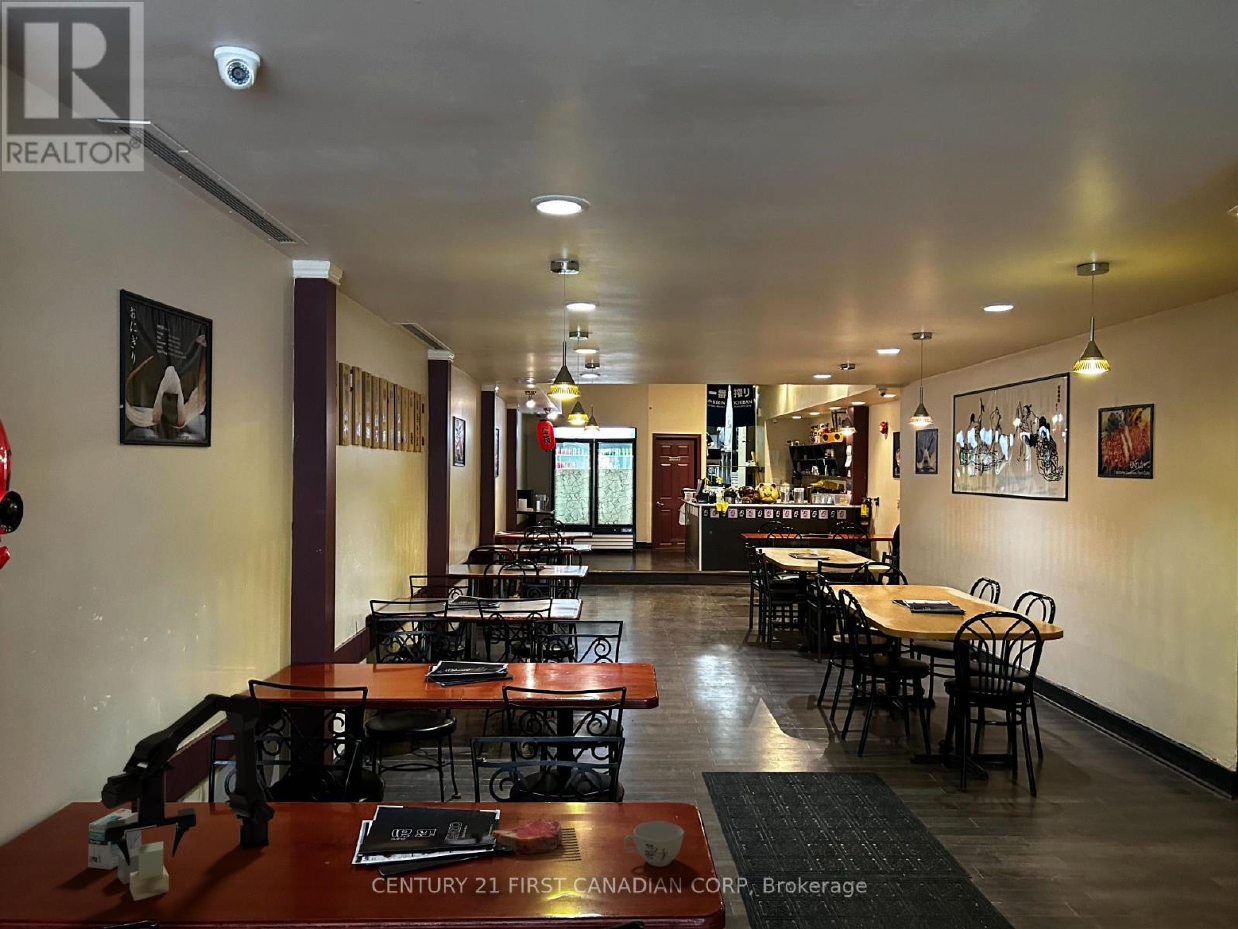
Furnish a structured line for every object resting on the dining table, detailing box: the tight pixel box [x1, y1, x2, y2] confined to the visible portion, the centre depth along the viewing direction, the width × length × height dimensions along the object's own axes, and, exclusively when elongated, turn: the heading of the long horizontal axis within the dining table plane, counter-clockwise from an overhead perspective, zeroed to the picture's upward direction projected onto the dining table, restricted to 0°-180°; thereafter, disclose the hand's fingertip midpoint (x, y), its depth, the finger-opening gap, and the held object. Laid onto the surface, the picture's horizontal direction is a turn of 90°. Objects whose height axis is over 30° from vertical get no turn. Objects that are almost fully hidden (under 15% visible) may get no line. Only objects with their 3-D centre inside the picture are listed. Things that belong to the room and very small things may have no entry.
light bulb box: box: [88, 808, 142, 871], centre depth 215 cm, size 11×7×11 cm, turn 168°
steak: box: [491, 818, 582, 864], centre depth 223 cm, size 25×21×6 cm
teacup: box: [623, 820, 685, 868], centre depth 214 cm, size 15×12×8 cm
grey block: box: [117, 847, 139, 885], centre depth 205 cm, size 5×5×6 cm
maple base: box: [129, 864, 170, 902], centre depth 199 cm, size 7×7×4 cm
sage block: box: [139, 841, 164, 880], centre depth 199 cm, size 5×5×6 cm
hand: (151, 861), depth 199 cm, fingers open, 9 cm apart
